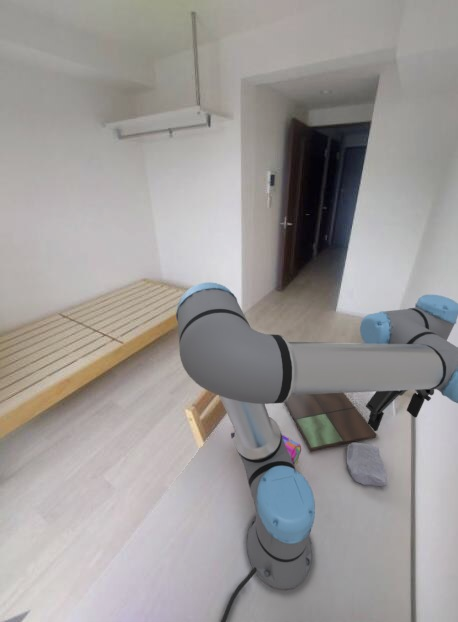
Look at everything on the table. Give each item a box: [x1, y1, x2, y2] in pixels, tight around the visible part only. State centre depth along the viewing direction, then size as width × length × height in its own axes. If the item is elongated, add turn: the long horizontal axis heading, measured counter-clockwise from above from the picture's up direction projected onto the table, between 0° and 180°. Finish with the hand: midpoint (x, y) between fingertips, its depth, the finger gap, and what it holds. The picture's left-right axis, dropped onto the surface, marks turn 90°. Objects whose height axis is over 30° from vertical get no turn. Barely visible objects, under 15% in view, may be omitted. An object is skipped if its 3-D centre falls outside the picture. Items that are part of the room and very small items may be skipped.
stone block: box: [346, 442, 387, 487], centre depth 82 cm, size 12×5×10 cm
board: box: [284, 393, 378, 453], centre depth 99 cm, size 24×24×2 cm
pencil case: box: [230, 432, 302, 467], centre depth 85 cm, size 22×9×9 cm, turn 54°
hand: (392, 420), depth 74 cm, fingers open, 13 cm apart
